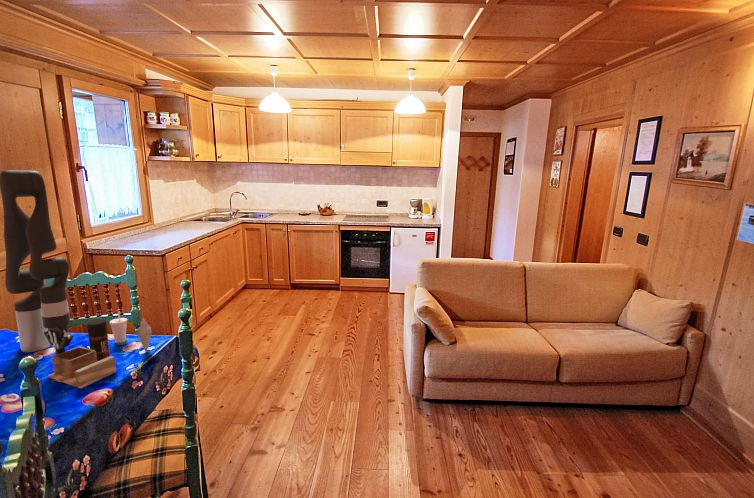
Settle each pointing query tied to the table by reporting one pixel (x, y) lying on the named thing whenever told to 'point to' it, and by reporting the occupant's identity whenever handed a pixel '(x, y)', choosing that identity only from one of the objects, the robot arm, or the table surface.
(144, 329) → the ice cream cone
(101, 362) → the brown piece
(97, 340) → the deodorant
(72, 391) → the table surface
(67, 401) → the table surface
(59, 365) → the socket block
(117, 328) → the smoothie
